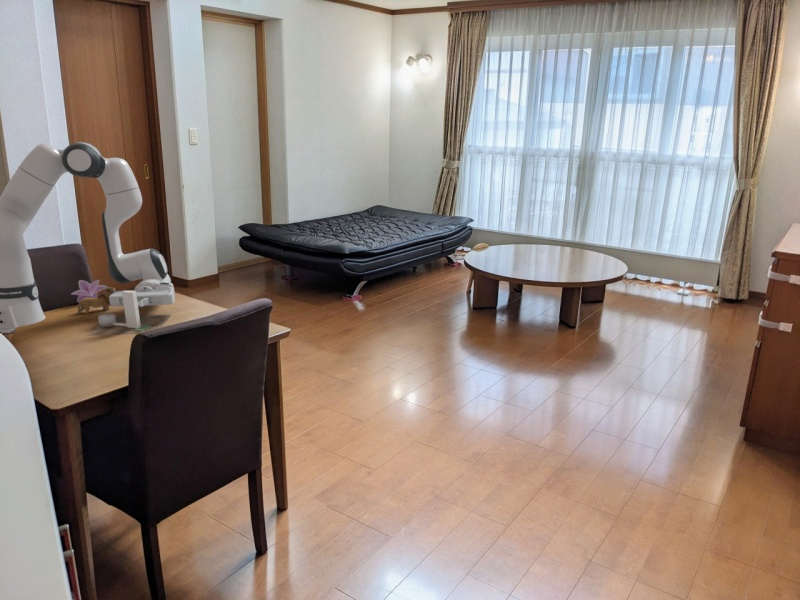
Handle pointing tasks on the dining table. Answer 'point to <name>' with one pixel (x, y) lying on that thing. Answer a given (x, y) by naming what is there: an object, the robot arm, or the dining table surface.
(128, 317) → the tuning peg
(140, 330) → the dial board
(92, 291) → the lily
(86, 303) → the lion figurine
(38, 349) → the dining table surface
